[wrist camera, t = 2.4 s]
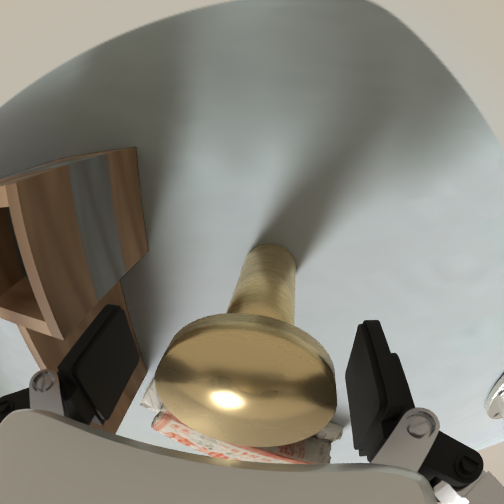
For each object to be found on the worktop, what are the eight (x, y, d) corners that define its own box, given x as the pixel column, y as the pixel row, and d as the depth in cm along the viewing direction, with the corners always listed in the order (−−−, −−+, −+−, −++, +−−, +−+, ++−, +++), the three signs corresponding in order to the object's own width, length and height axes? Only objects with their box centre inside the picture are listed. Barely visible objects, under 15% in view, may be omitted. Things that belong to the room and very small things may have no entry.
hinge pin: (325, 220, 16) (355, 345, 7) (316, 311, 18) (320, 450, 9) (216, 217, 17) (134, 326, 8) (223, 305, 19) (174, 433, 10)
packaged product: (349, 464, 20) (284, 490, 24) (346, 422, 24) (287, 456, 28) (150, 389, 18) (125, 430, 22) (173, 344, 22) (143, 395, 26)
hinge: (136, 146, 15) (16, 182, 7) (177, 378, 23) (140, 464, 15) (-17, 178, 18) (-87, 211, 10) (34, 339, 26) (-9, 389, 17)
